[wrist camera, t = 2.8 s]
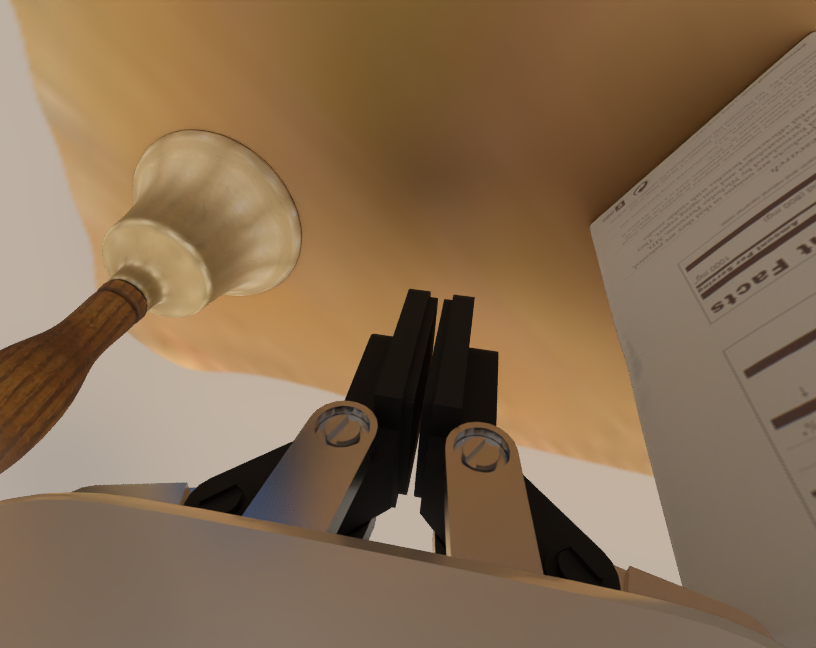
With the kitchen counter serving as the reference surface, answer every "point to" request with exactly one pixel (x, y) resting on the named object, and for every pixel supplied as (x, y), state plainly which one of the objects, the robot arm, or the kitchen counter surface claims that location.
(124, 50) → the kitchen counter surface
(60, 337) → the hand bell
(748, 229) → the supplement box
